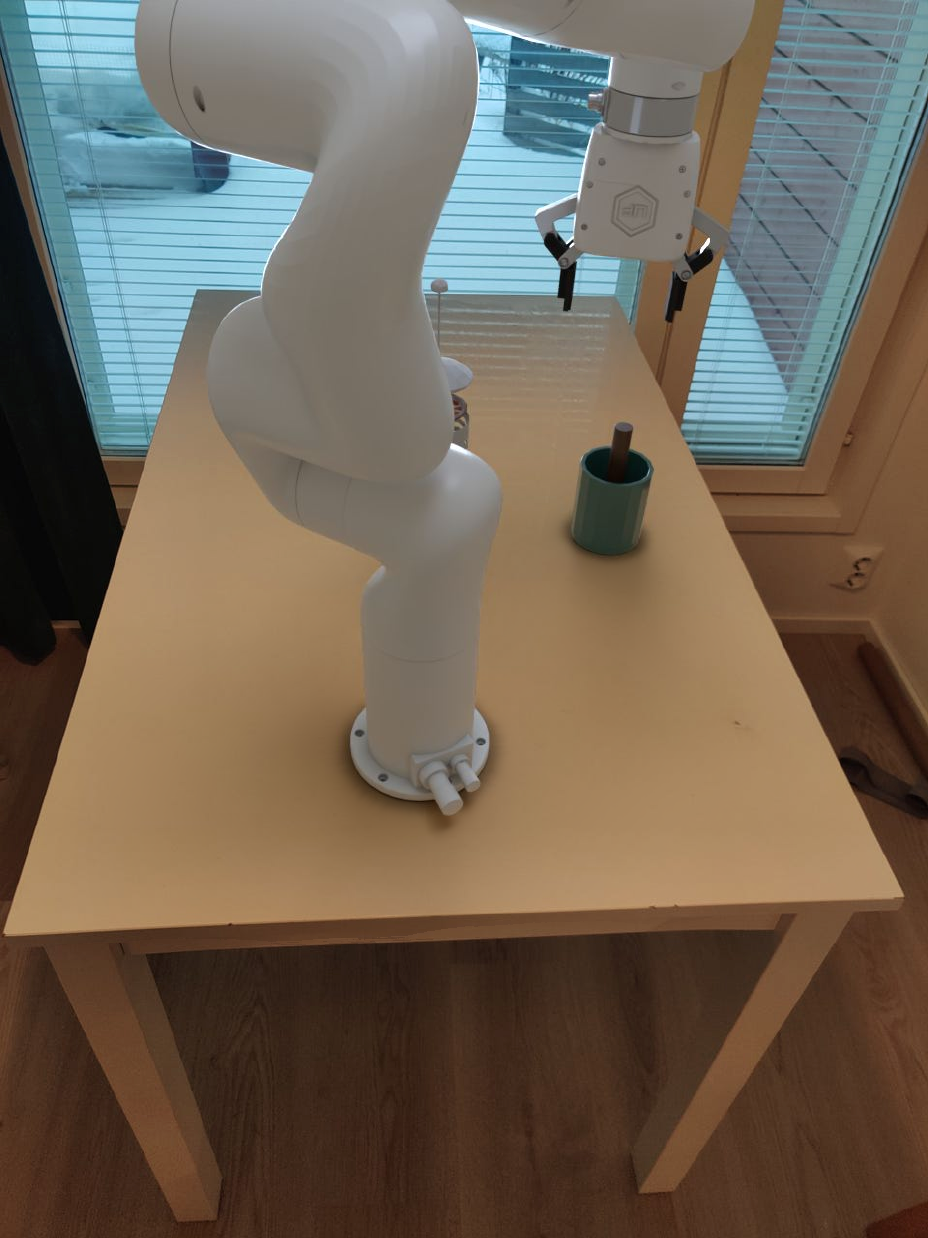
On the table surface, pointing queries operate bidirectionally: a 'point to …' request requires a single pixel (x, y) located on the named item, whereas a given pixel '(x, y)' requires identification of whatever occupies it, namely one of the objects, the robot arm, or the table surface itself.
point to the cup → (610, 503)
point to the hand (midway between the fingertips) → (617, 311)
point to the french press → (455, 378)
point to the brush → (619, 452)
